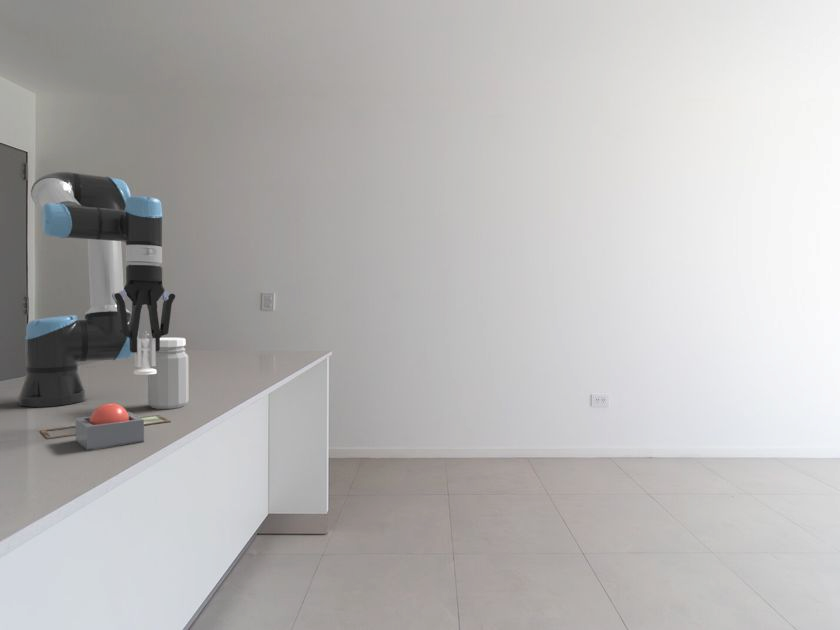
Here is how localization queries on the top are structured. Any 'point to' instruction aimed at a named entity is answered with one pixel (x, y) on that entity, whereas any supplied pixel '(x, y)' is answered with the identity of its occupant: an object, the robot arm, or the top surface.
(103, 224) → the robot arm
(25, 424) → the top surface
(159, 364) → the jar
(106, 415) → the coral red ball
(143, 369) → the chess piece
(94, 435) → the housing
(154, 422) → the brown wooden flat frame
